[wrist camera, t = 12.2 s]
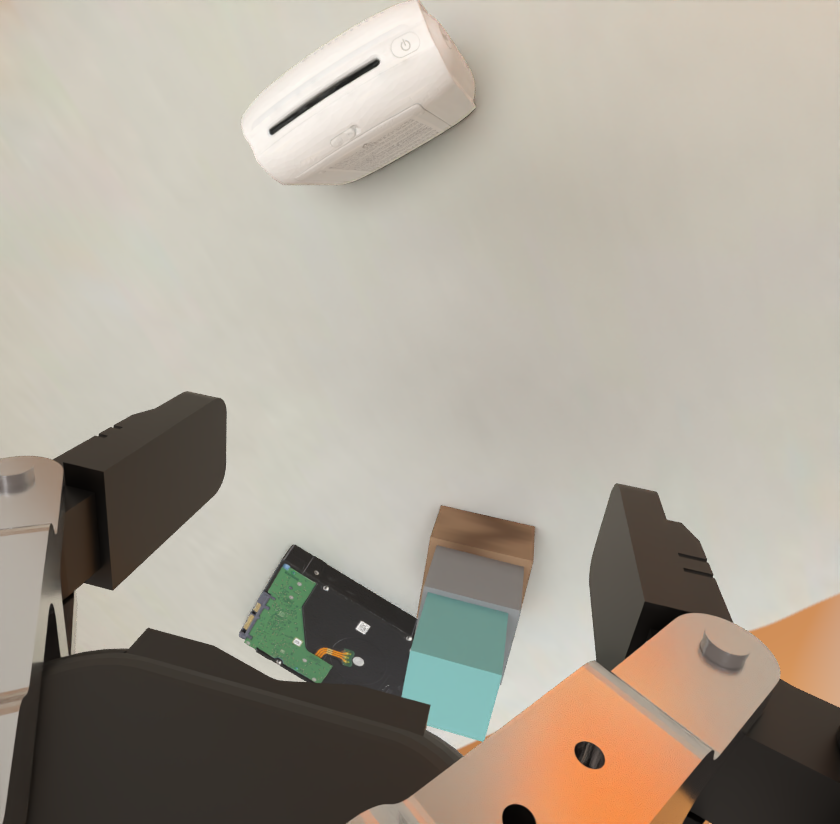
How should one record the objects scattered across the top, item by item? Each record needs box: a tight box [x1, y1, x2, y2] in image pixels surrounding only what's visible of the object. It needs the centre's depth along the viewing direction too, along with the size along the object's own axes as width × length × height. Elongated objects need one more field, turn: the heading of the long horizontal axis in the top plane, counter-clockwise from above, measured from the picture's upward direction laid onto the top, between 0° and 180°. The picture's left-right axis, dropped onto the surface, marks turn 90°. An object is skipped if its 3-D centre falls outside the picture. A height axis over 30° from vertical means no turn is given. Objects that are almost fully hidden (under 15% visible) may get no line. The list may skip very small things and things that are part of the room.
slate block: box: [414, 545, 524, 685], centre depth 40 cm, size 6×6×4 cm
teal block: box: [402, 592, 508, 742], centre depth 35 cm, size 5×5×5 cm
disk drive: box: [239, 545, 418, 697], centre depth 50 cm, size 10×3×15 cm
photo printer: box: [241, 0, 476, 185], centre depth 30 cm, size 10×4×12 cm, turn 117°
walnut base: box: [417, 505, 535, 618], centre depth 44 cm, size 7×7×4 cm
